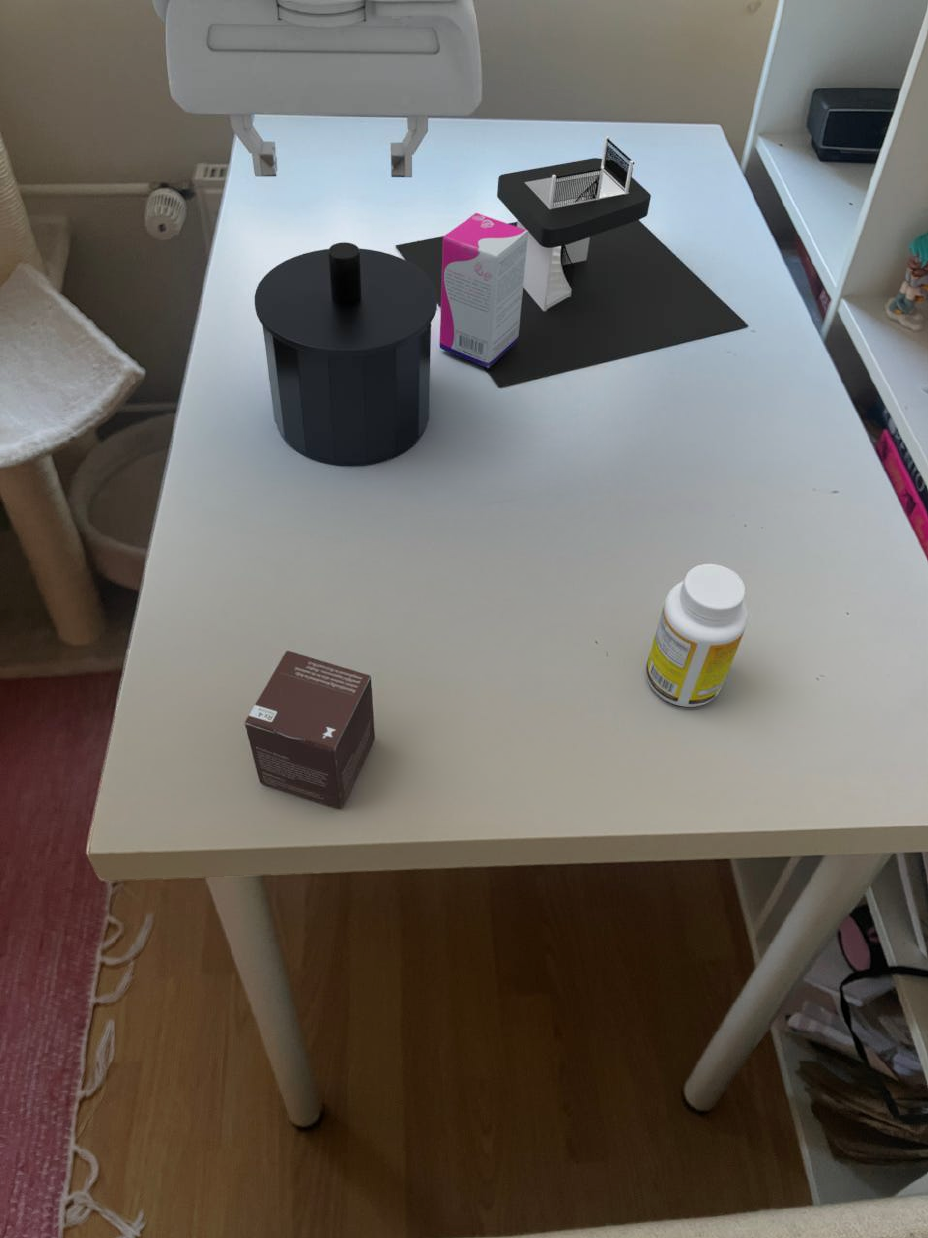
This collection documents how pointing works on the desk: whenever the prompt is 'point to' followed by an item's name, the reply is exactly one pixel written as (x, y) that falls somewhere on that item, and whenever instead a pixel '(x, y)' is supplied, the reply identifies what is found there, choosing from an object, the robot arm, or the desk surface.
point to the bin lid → (345, 301)
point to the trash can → (350, 401)
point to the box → (312, 728)
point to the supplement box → (482, 288)
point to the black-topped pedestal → (590, 272)
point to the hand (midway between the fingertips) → (334, 173)
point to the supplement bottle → (697, 636)
